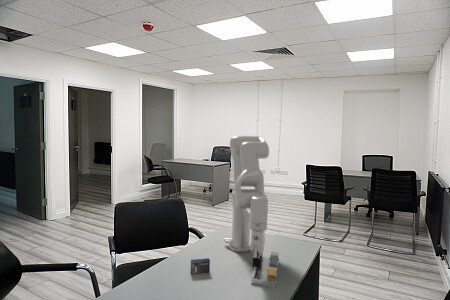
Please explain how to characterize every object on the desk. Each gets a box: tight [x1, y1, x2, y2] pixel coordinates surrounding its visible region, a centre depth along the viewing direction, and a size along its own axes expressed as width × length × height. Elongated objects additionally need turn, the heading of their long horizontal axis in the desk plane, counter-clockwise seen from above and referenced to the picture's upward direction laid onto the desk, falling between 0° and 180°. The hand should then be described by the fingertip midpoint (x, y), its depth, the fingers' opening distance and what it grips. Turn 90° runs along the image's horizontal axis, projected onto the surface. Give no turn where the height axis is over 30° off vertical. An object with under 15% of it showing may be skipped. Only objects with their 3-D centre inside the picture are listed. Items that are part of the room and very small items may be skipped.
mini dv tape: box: [190, 257, 211, 275], centre depth 131 cm, size 8×2×6 cm, turn 105°
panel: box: [250, 255, 280, 288], centre depth 133 cm, size 10×24×4 cm, turn 167°
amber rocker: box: [267, 267, 278, 276], centre depth 127 cm, size 4×9×1 cm, turn 167°
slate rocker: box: [268, 251, 280, 267], centre depth 139 cm, size 4×9×1 cm, turn 167°
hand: (256, 265), depth 129 cm, fingers closed
